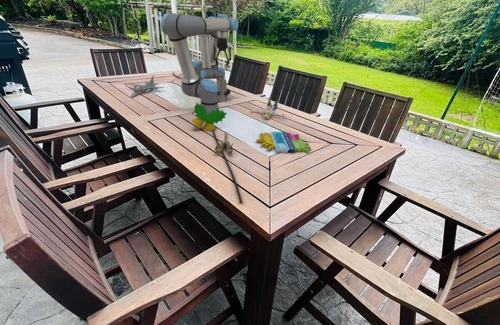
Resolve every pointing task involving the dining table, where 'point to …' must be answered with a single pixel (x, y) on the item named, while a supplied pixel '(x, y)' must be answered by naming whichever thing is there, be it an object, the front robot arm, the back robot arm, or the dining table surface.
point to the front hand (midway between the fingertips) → (222, 69)
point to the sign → (283, 142)
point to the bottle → (221, 89)
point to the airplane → (145, 87)
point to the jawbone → (224, 145)
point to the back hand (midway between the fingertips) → (222, 94)
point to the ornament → (207, 117)
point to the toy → (269, 111)
